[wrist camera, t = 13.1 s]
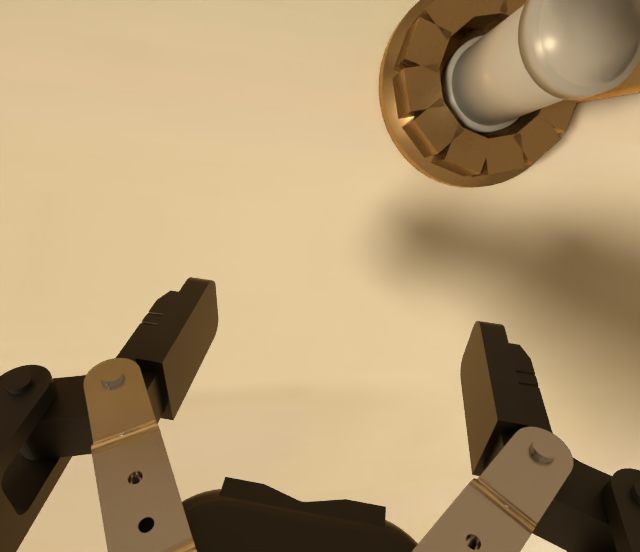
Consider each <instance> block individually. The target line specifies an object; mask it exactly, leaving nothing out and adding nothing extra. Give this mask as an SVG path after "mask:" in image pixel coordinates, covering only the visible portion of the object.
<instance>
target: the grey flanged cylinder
mask: <svg viewBox="0 0 640 552" xmlns="http://www.w3.org/2000/svg"><path fill="white" fill-rule="evenodd" d="M639 61H640V0H527V1H526V3H525V4H524V5H523V6H522V7H520V8H519V9H518V10H516V11H515V12H514V13H513V14H511V15H510V16H509V17H507V18H506V19H505V20H504V21H502V22H501V23H500V24H498V25H497V26H496V27H494V28H493V29H492V30H491V31H489V32H488V33H487V34H485V35H483V36H478V37H476V38H473V39H471V40H469V41H468V42H466V43H465V44H464V45H462V46H461V47H460V48H459V49H457V50H456V51H455V52H454V53H453V54H452V55H451V56H450V57H449V59H448V60H447V62H446V64H445V65H444V68H443V70H442V73H441V77H440V79H441V87H442V94H443V101H444V103H445V104H446V106H447V107H448V108H449V110H450V111H451V113H452V114H453V115H454V117H455V118H456V120H457V121H458V123H459V124H460V125H461V127H463V128H465V129H467V130H470V131H472V132H474V133H477V134H488V133H492V132H495V131H498V130H500V129H503V128H505V127H507V126H509V125H511V124H512V123H514V122H515V121H516V120H517V119H518V118H519V117H520V116H523V115H525V114H528V113H531V112H533V111H536V110H538V109H541V108H544V107H546V106H549V105H552V104H554V103H557V102H559V101H562V100H582V99H586V98H589V97H592V96H595V95H597V94H600V93H603V92H606V91H608V90H610V89H613V88H614V87H616V86H618V85H619V84H620V83H622V82H623V81H624V80H625V79H626V78H627V77H628V76H629V75H630V74H631V73H632V72H633V70H634V69H635V67H636V66H637V64H638V62H639Z"/></svg>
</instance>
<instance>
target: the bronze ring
mask: <svg viewBox="0 0 640 552" xmlns="http://www.w3.org/2000/svg"><path fill="white" fill-rule="evenodd" d="M526 1H527V0H420V1H419V2H418V3H417V4H416V5H415V6H414V7H413V8H412V9H411V10H410V11H409V12H408V13H407V14H406V15H405V17H404V18H403V19H402V21H401V22H400V23H399V24H398V26H397V27H396V29H395V31H394V32H393V34H392V36H391V37H390V40H389V42H388V44H387V47H386V49H385V52H384V56H383V59H382V63H381V69H380V75H379V98H380V106H381V111H382V116H383V119H384V122H385V125H386V128H387V130H388V132H389V134H390V136H391V138H392V140H393V142H394V144H395V145H396V147H397V148H398V150H399V151H400V153H401V154H402V155H403V156H404V157H405V158H406V160H407V161H408V162H409V163H410V164H411V165H413V166H414V167H415V168H416V169H417V170H418V171H420V172H421V173H423V174H424V175H426V176H427V177H429V178H431V179H434V180H436V181H438V182H440V183H444V184H447V185H450V186H456V187H467V188H473V187H482V186H490V185H494V184H498V183H501V182H504V181H506V180H509V179H511V178H513V177H515V176H517V175H518V174H520V173H522V172H523V171H524V170H526V169H527V168H528V167H530V166H531V165H532V164H533V163H534V162H535V161H536V160H537V159H539V158H540V157H541V156H542V155H543V154H544V153H545V152H546V151H548V150H549V149H550V148H551V147H552V146H553V145H554V144H555V143H557V142H558V141H559V140H560V137H559V136H558V133H562V132H566V129H567V127H568V124H569V121H570V119H571V116H572V114H573V111H574V108H575V106H576V103H577V102H583V101H589V100H595V99H601V98H607V97H614V96H620V95H626V94H632V93H638V92H640V61H639V62H638V64H637V66H636V67H635V69H634V70H633V72H632V73H631V74H630V75H629V76H628V77H627V78H626V79H625V80H624V81H623V82H622V83H620V84H619V85H618V86H616V87H614V88H613V89H610V90H608V91H606V92H603V93H600V94H597V95H595V96H592V97H589V98H586V99H582V100H562V101H559V102H557V103H554V104H552V105H549V106H546V107H544V108H541V109H538V110H536V111H533V112H531V113H528V114H525V115H523V116H520V117H519V118H518V119H517V120H516V121H515V122H514V123H512V124H511V125H509V126H507V127H505V128H503V129H500V130H498V131H495V132H492V133H488V134H477V133H474V132H472V131H470V130H467V129H465V128H463V127H461V125H460V124H459V123H458V121H457V120H456V118H455V117H454V115H453V114H452V113H451V111H450V110H449V108H448V107H447V106H446V104H445V103H444V101H443V94H442V87H441V79H440V77H441V73H442V70H443V68H444V65H445V64H446V62H447V60H448V59H449V57H450V56H451V55H452V54H453V53H454V52H455V51H456V50H457V49H459V48H460V47H461V46H462V45H464V44H465V43H466V42H468V41H469V40H471V39H473V38H476V37H478V36H483V35H485V34H487V33H488V32H489V31H491V30H492V29H493V28H494V27H496V26H497V25H498V24H500V23H501V22H502V21H504V20H505V19H506V18H507V17H509V16H510V15H511V14H513V13H514V12H515V11H516V10H518V9H519V8H520V7H522V6H523V5H524V4H525V3H526Z"/></svg>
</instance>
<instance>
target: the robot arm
mask: <svg viewBox="0 0 640 552" xmlns="http://www.w3.org/2000/svg"><path fill="white" fill-rule="evenodd" d="M217 326H218V309H217V297H216V286H215V282H214V281H212V280H205V279H199V278H192V277H190V278H188V279H187V281H186V282H185V284H184V285H183V287H182V288H181V290H180V291H179V292H176V291H169V292H168V293H166V294H165V295H164V296H162V297H161V298H159V299H158V300H157V301H156V302H155V303H154V305H153V306H152V308H151V309H150V311H149V313H148V314H147V315H146V316H145V318H144V319H143V320H142V324H141V323H140V325H139V326H138V327H137V329H136V330H135V332H134V333H133V335H132V336H131V337H130V339H129V340H128V342H127V343H126V344H125V346H124V347H123V349H122V350H121V351H120V353H119V354H118V356H117V357H116V358H114V359H109V360H106V361H103V362H101V363H99V364H98V365H96V366H95V367H93V368H92V369H91V370H90V371H89V372H88V374H87V375H83V376H74V377H64V378H54V379H52V376H51V374H50V372H49V371H48V369H46V368H45V367H42V366H38V365H26V366H21V367H17V368H15V369H12V370H10V371H8V372H6V373H4V374H3V375H1V376H0V552H16V551H17V549H18V548H19V546H20V544H21V543H22V541H23V539H24V537H25V536H26V534H27V532H28V531H29V529H30V527H31V526H32V524H33V522H34V520H35V519H36V517H37V515H38V514H39V512H40V510H41V508H42V507H43V505H44V503H45V502H46V500H47V498H48V497H49V495H50V493H51V491H52V490H53V488H54V486H55V485H56V483H57V481H58V479H59V478H60V476H61V474H62V473H63V471H64V469H65V468H66V466H67V464H68V462H69V461H70V459H71V457H72V456H77V455H85V454H92V457H93V464H94V470H95V476H96V482H97V488H98V494H99V500H100V506H101V512H102V518H103V524H104V530H105V536H106V543H107V549H108V552H520V551H521V549H522V548H523V546H524V545H525V543H526V542H527V540H528V538H529V537H530V535H531V534H532V533H533V534H535V535H537V536H539V537H541V538H543V539H545V540H547V541H549V542H551V543H552V544H554V545H556V546H558V547H560V548H562V549H564V550H566V551H567V552H640V471H639V470H636V469H621V470H618V471H617V472H615V473H614V475H613V476H610V475H608V474H606V473H603V472H601V471H599V470H597V469H594V468H592V467H590V466H588V465H585V464H583V463H581V462H579V461H578V460H576V459H575V458H573V457H572V454H571V452H570V450H569V449H568V447H567V446H566V445H565V443H564V442H563V441H562V440H561V439H560V438H558V437H557V436H556V435H554V434H553V433H552V430H551V426H550V423H549V420H548V416H547V413H546V409H545V406H544V403H543V399H542V396H541V392H540V389H539V388H538V382H537V379H536V376H535V372H534V369H533V365H532V362H531V359H530V357H529V356H528V355H527V354H526V352H525V351H524V350H523V349H522V347H521V346H520V345H517V344H511V343H508V339H507V335H506V331H505V328H504V326H503V325H501V324H494V323H487V322H480V321H477V322H476V323H475V324H474V327H473V329H472V332H471V335H470V338H469V341H468V344H467V346H466V349H465V352H464V355H463V358H462V363H461V385H462V393H463V401H464V410H465V418H466V426H467V435H468V443H469V451H470V460H471V468H472V475H477V476H480V477H479V478H478V479H475V478H474V479H473V480H472V481H471V482H470V483H469V484H468V485H467V486H466V487H465V489H464V490H463V491H462V492H461V493H460V495H459V496H458V497H457V498H456V499H455V501H454V502H453V503H452V504H451V505H450V506H449V508H448V509H447V510H446V511H445V512H444V514H443V515H442V516H441V517H440V518H439V520H438V521H437V522H436V523H435V524H434V526H433V527H432V528H431V529H430V530H429V532H428V533H427V534H426V535H425V536H424V538H423V539H422V540H421V541H420V542H419V544H418V543H417V542H416V541H415V540H414V539H413V538H412V537H411V536H409V535H408V534H407V533H406V532H404V531H403V530H402V529H400V528H399V527H397V526H396V525H394V524H393V523H391V522H389V521H387V520H385V512H386V507H383V506H378V505H373V504H367V503H362V502H357V501H351V500H346V499H344V500H330V501H316V502H301V501H298V500H296V499H294V498H292V497H290V496H288V495H286V494H284V493H281V492H279V491H277V490H275V489H273V488H271V487H269V486H267V485H265V484H260V483H255V482H250V481H244V480H239V479H234V478H228V477H225V480H224V483H223V486H222V489H218V490H212V491H207V492H203V493H200V494H197V495H195V496H192V497H190V498H188V499H186V500H184V501H183V502H181V498H180V495H179V492H178V488H177V485H176V482H175V479H174V475H173V472H172V469H171V465H170V462H169V459H168V455H167V452H166V449H165V446H164V442H163V439H162V436H161V432H160V429H159V426H158V422H159V420H160V418H164V419H169V420H174V418H175V416H176V414H177V412H178V410H179V408H180V406H181V404H182V402H183V400H184V398H185V396H186V394H187V392H188V390H189V388H190V386H191V384H192V382H193V380H194V377H195V375H196V373H197V371H198V369H199V367H200V365H201V363H202V361H203V359H204V357H205V355H206V353H207V351H208V349H209V347H210V345H211V343H212V341H213V339H214V337H215V334H216V331H217Z"/></svg>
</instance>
